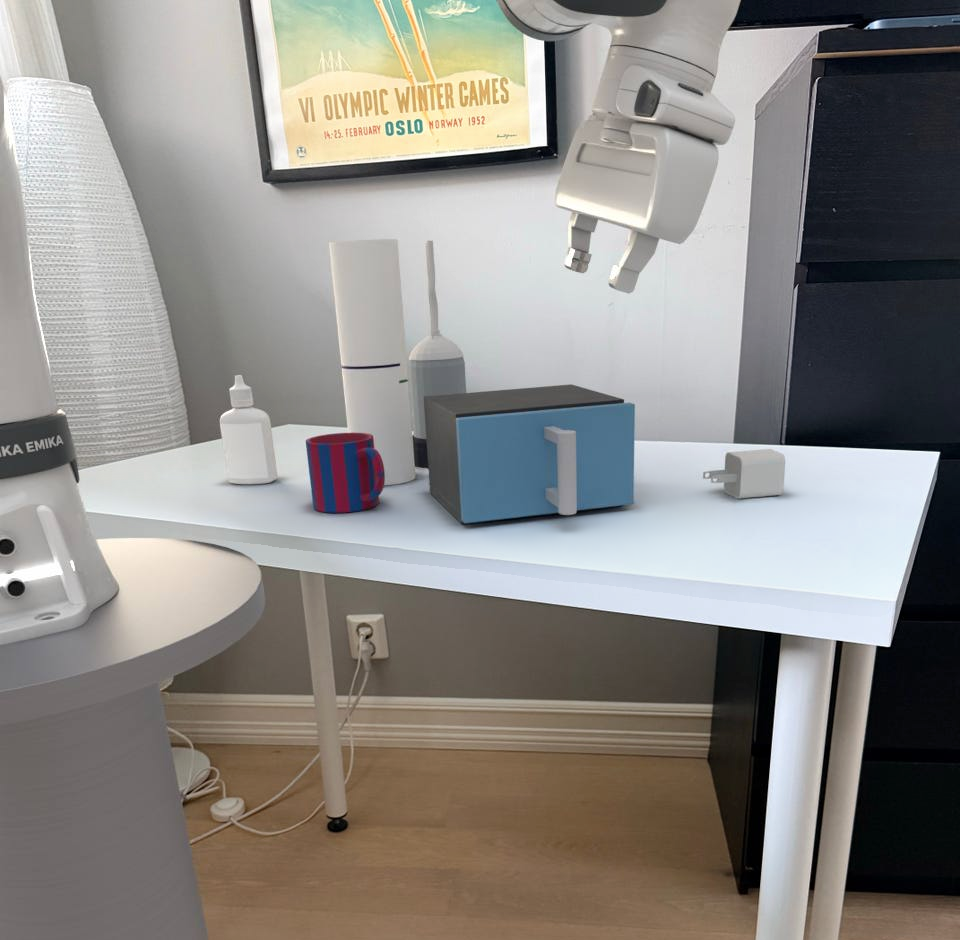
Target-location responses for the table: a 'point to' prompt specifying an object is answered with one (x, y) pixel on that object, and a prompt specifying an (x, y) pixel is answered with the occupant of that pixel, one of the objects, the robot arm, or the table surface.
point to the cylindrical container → (374, 349)
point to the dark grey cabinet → (452, 406)
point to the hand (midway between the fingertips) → (595, 280)
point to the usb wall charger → (751, 473)
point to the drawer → (545, 461)
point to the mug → (344, 472)
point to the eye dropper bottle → (247, 439)
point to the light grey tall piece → (432, 368)
